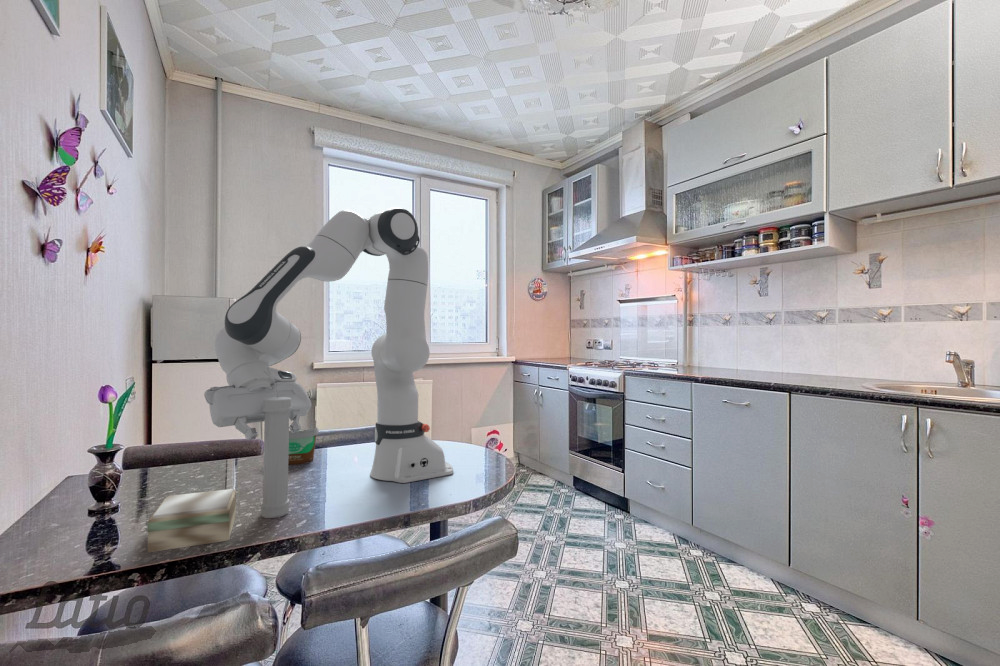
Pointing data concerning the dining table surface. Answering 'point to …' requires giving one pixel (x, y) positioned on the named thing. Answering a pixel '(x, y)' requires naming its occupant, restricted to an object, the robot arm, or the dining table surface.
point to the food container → (302, 446)
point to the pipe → (276, 456)
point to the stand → (192, 520)
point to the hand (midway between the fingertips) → (275, 434)
